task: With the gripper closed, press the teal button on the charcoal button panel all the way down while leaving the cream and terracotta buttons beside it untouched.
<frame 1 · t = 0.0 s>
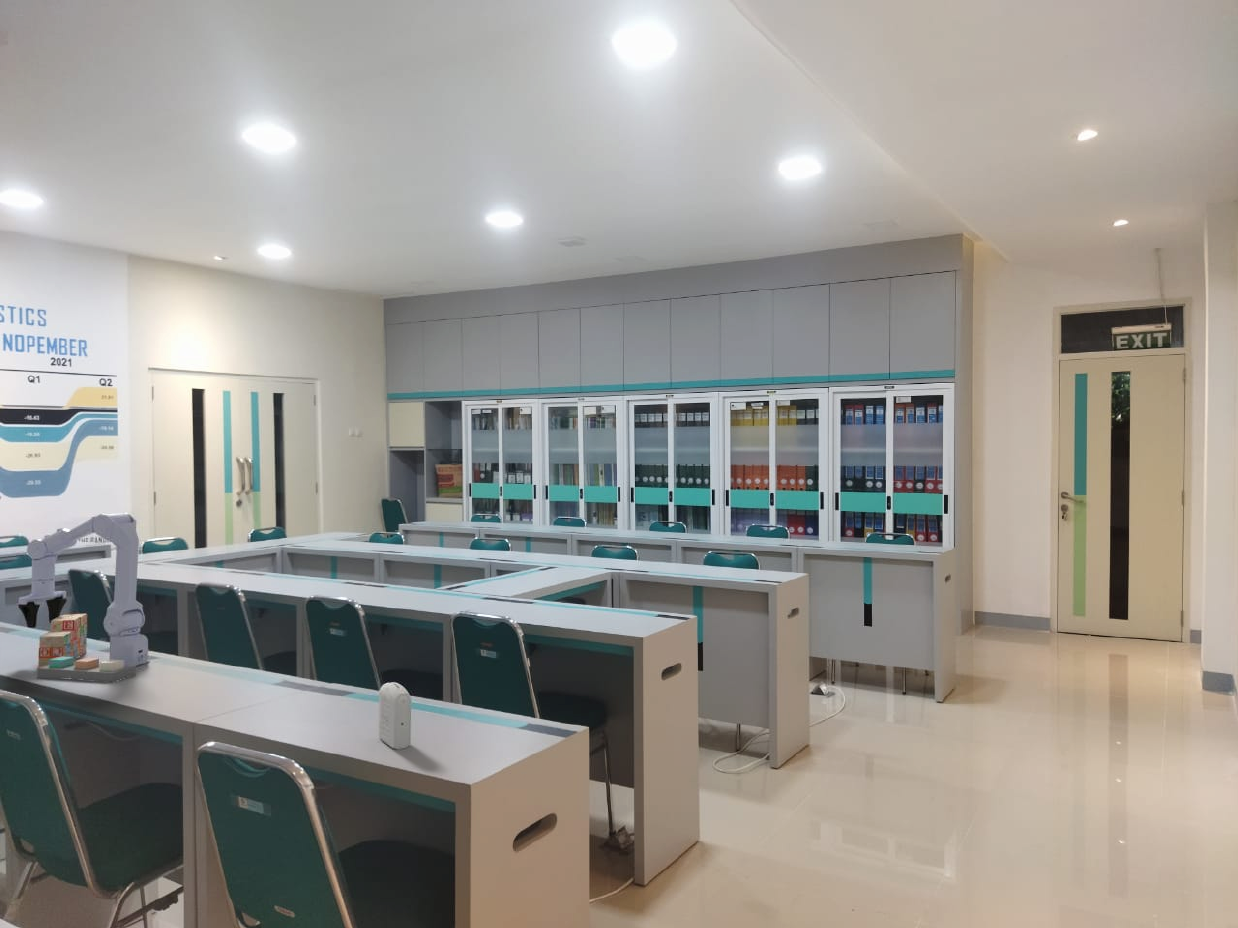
hand: (42, 625, 251), 10 cm above the table, tool pointing down, fingers open, 7 cm apart
stack of blocks: (63, 661, 249), on the table, touching gripper
terracotta button: (86, 666, 231), point 3 cm above the table, slide at 0.0 cm
button panel: (86, 676, 231), on the table
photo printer: (394, 743, 178), on the table
cream button: (112, 667, 229), point 3 cm above the table, slide at 0.0 cm
teal button: (61, 664, 232), point 3 cm above the table, slide at 0.0 cm
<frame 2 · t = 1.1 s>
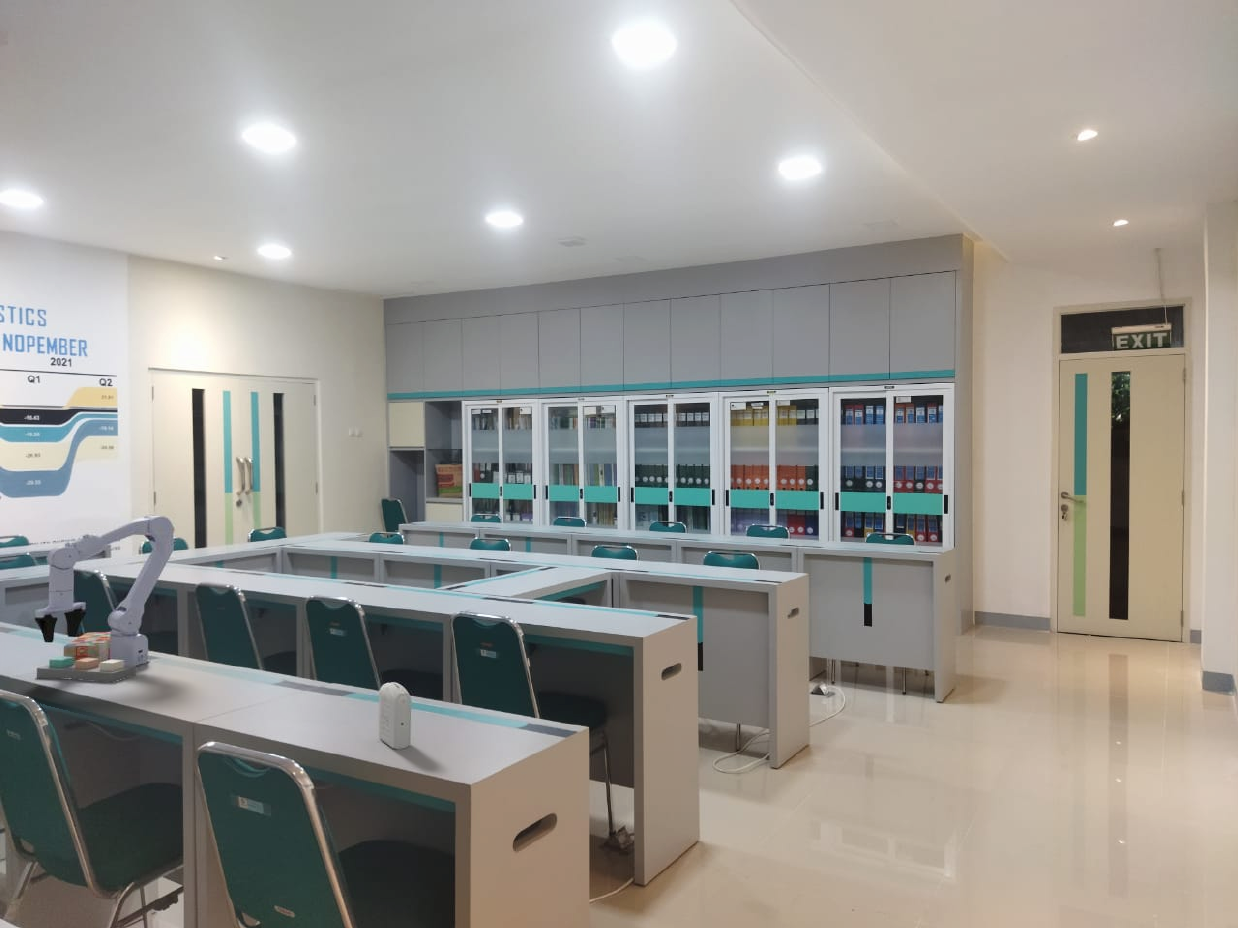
hand: (60, 639, 234), 9 cm above the table, tool pointing down, fingers open, 7 cm apart
stack of blocks: (74, 649, 250), point 3 cm above the table
everything else where it was.
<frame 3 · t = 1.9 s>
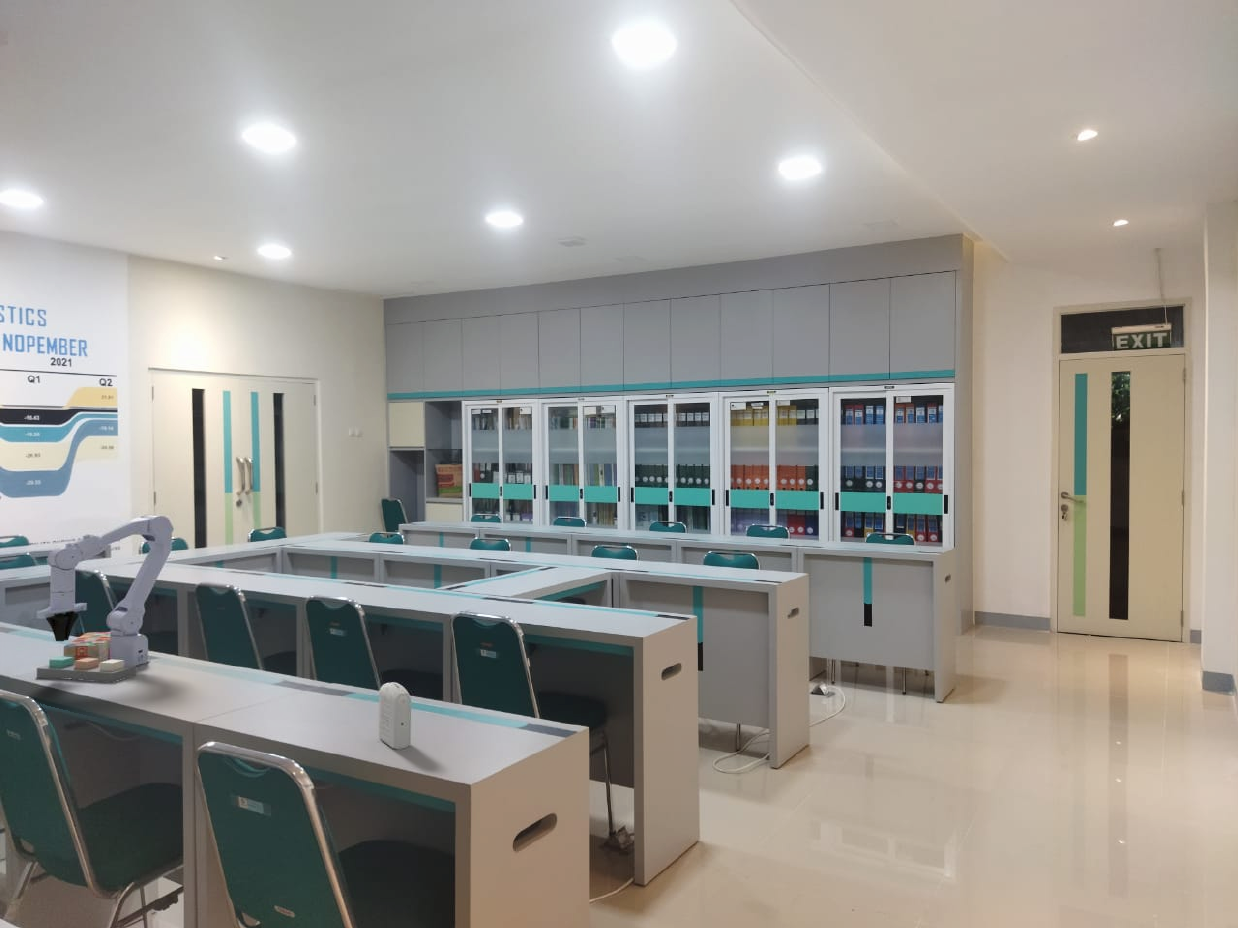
hand: (62, 640, 232), 9 cm above the table, tool pointing down, fingers closed
nothing on the table moved.
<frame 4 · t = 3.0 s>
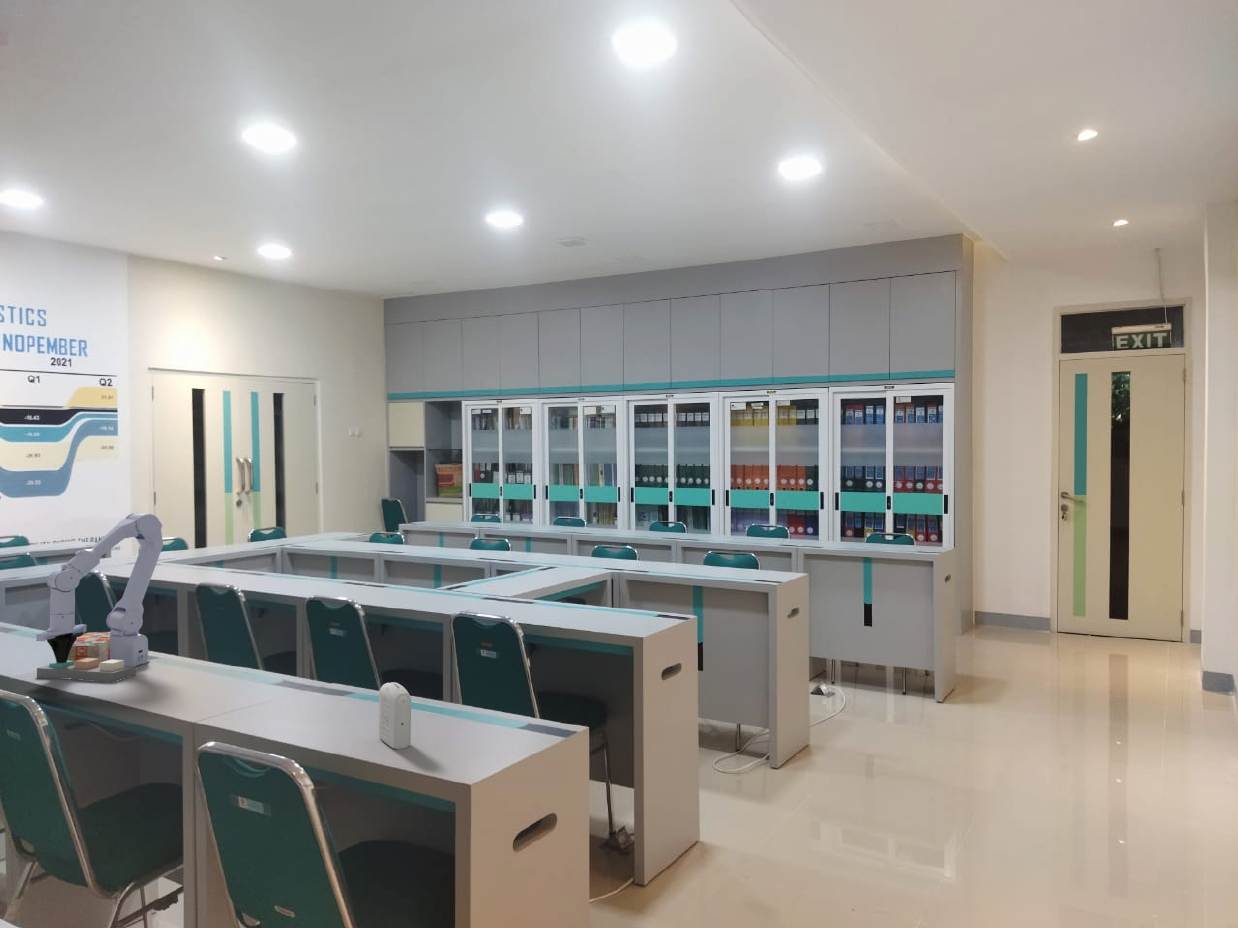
hand: (61, 662, 232), 3 cm above the table, tool pointing down, fingers closed, pressing on teal button
teal button: (61, 668, 232), point 2 cm above the table, slide at 1.0 cm, touching gripper
everything else where it was.
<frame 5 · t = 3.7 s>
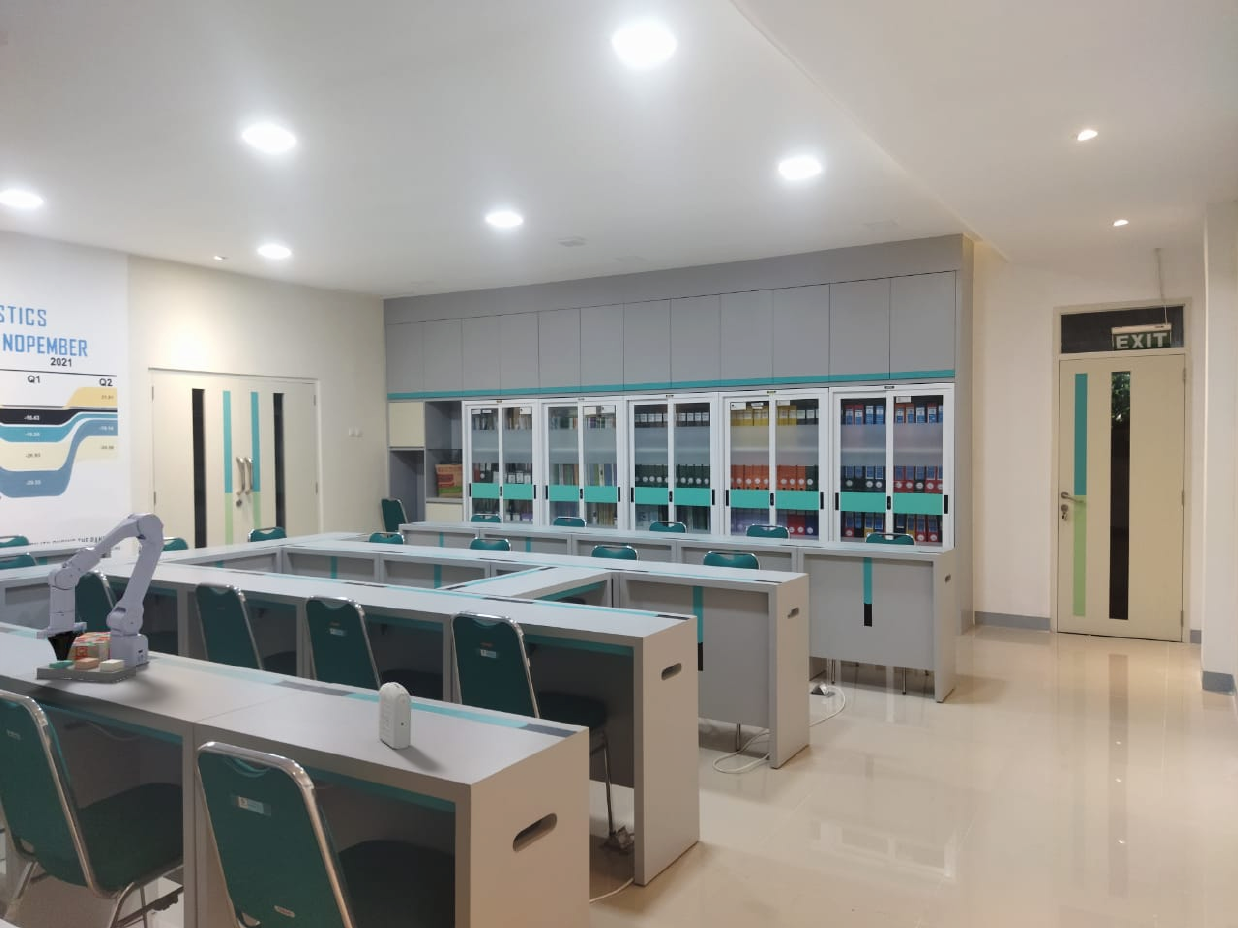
hand: (62, 660, 232), 4 cm above the table, tool pointing down, fingers closed
teal button: (61, 668, 232), point 2 cm above the table, slide at 1.1 cm
everything else where it was.
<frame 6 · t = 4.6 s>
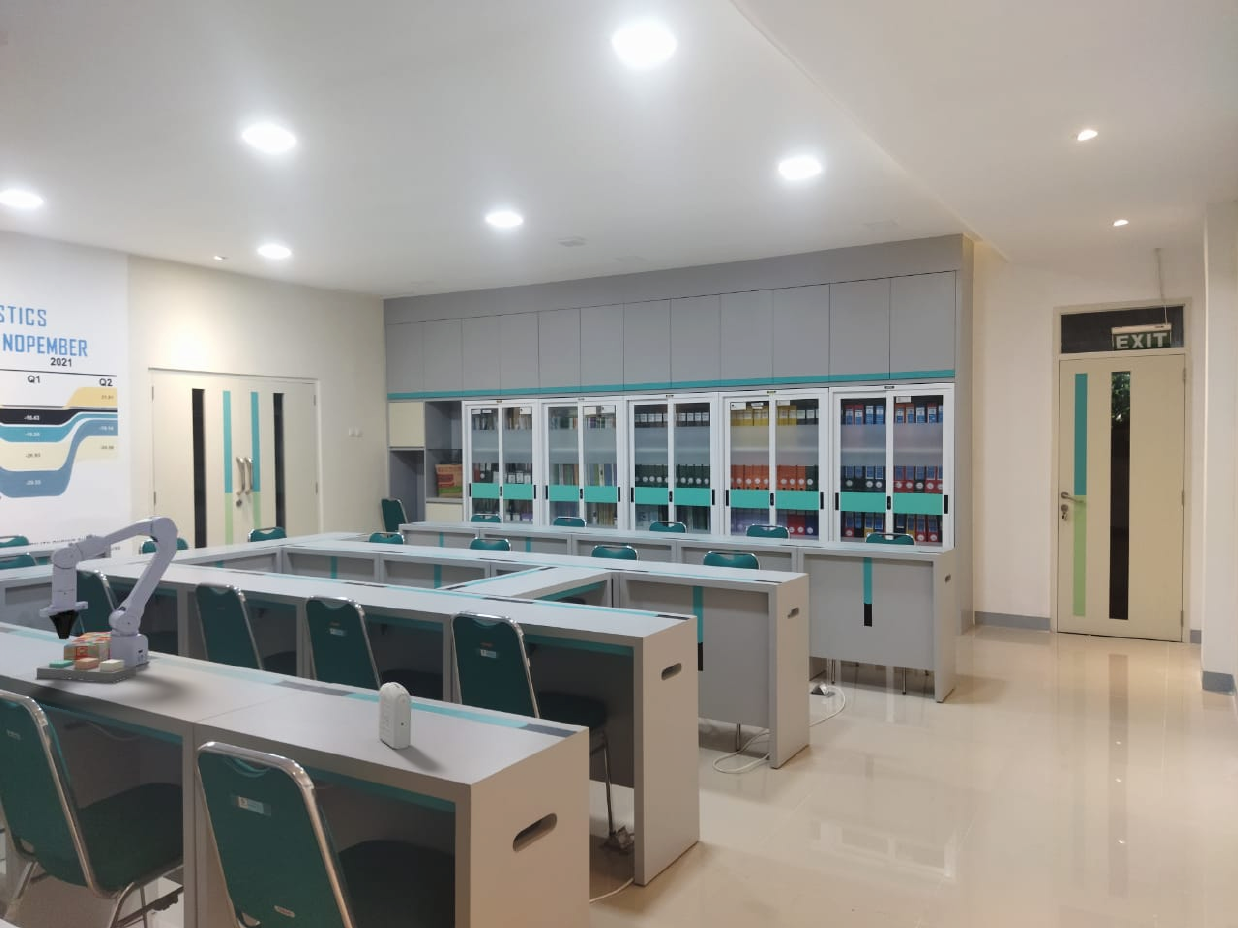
hand: (63, 638, 235), 9 cm above the table, tool pointing down, fingers closed
nothing on the table moved.
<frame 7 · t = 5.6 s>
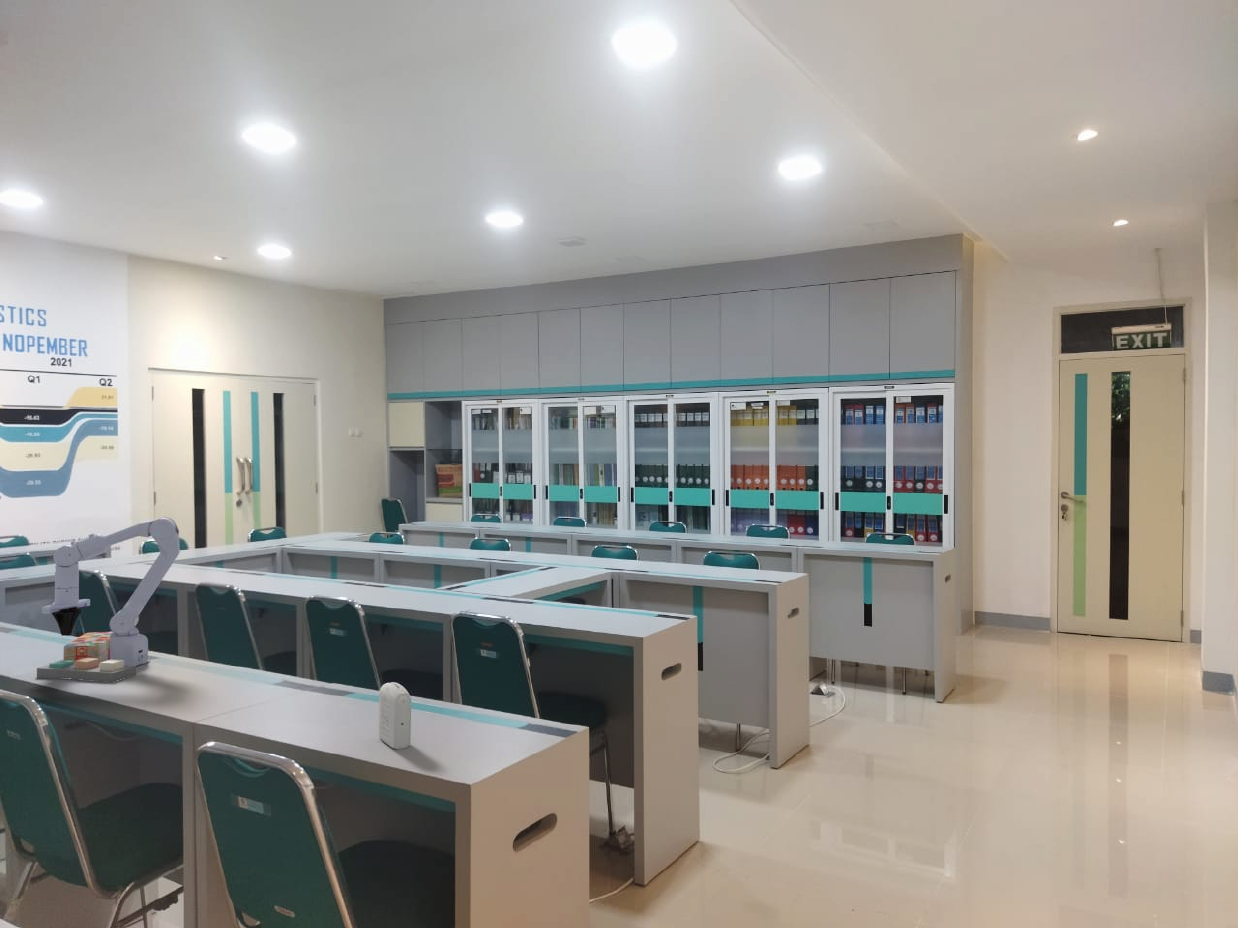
hand: (66, 635, 240), 9 cm above the table, tool pointing down, fingers closed
nothing on the table moved.
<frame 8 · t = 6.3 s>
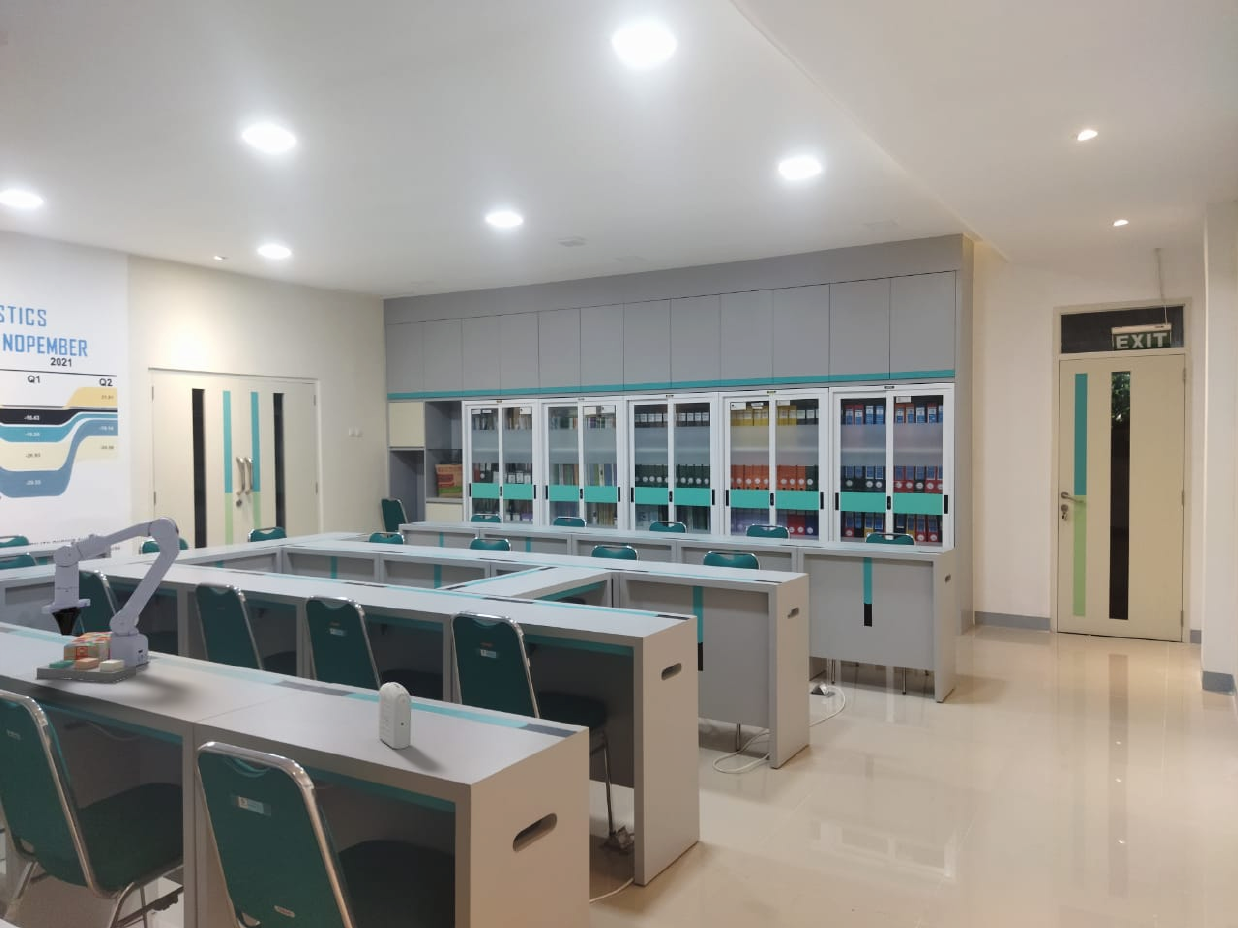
hand: (66, 635, 240), 9 cm above the table, tool pointing down, fingers closed
nothing on the table moved.
at the end: teal button slide at 1.1 cm; terracotta button slide at 0.0 cm; cream button slide at 0.0 cm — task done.
